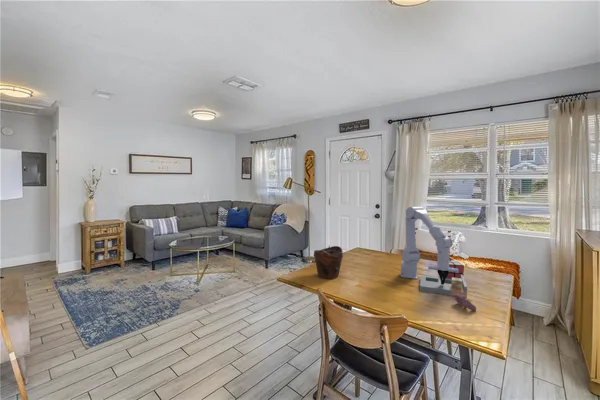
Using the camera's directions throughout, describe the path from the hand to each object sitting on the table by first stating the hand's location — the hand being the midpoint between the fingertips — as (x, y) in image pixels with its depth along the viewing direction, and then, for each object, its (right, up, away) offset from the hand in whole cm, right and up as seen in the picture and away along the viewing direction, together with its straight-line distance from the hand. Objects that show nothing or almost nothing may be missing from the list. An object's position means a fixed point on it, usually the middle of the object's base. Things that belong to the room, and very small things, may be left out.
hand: (442, 283), depth 152 cm
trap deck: (+2, -3, +4) cm, 5 cm away
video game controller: (0, -5, -20) cm, 21 cm away
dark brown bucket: (-60, -2, +23) cm, 64 cm away
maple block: (+6, -1, -3) cm, 7 cm away
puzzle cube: (+15, -3, +18) cm, 24 cm away
